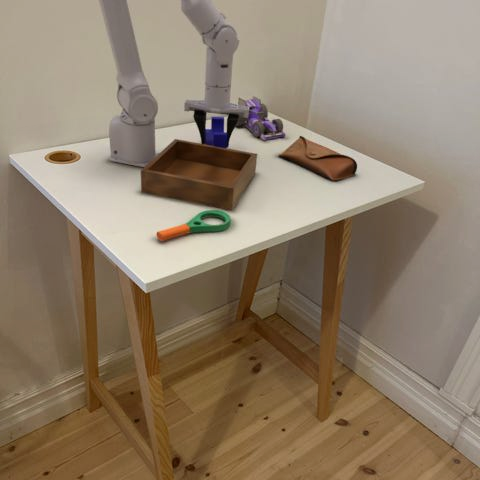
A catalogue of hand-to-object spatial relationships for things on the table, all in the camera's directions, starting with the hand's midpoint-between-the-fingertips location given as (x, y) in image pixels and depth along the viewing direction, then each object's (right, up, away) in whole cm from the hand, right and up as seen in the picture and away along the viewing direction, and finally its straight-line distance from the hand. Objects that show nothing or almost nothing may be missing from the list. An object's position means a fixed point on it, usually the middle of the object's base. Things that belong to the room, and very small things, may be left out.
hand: (215, 144), depth 122 cm
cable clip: (0, -1, +1) cm, 2 cm away
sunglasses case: (+24, -5, 0) cm, 24 cm away
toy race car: (+11, +9, +15) cm, 21 cm away
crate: (-2, -12, -13) cm, 18 cm away
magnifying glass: (-2, -25, -28) cm, 38 cm away
